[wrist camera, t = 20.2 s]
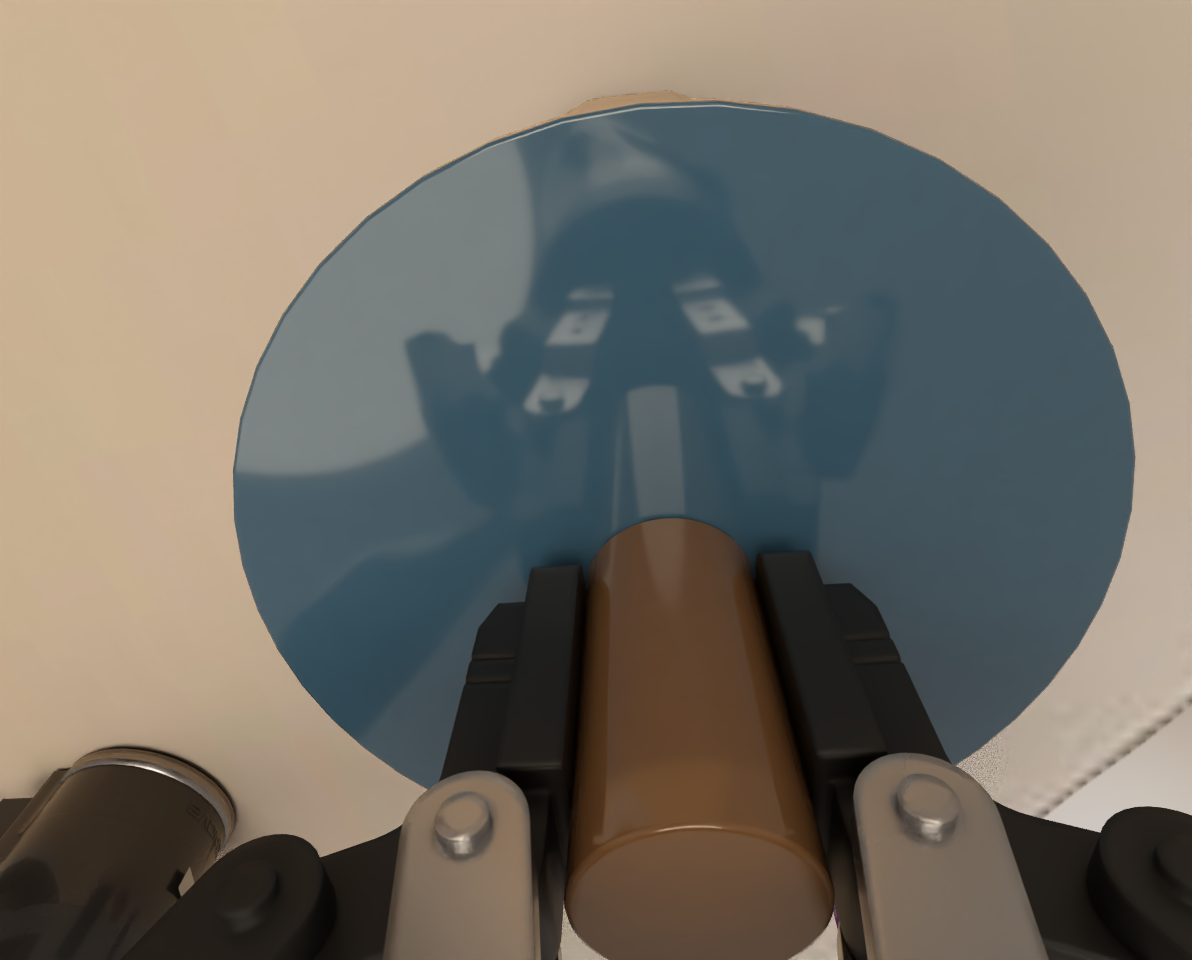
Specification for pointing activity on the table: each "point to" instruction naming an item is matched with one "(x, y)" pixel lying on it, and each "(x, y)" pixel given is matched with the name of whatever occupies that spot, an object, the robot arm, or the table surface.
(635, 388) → the lid
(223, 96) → the table surface
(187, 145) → the table surface
